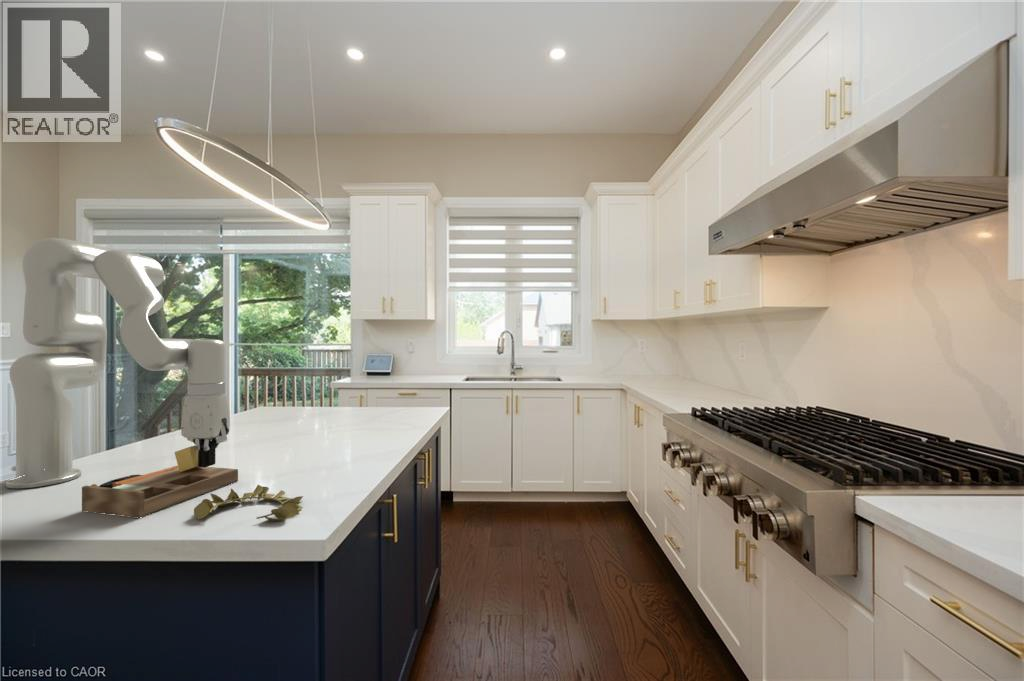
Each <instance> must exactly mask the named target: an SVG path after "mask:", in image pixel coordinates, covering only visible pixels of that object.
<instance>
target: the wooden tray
mask: <svg viewBox="0 0 1024 681" xmlns="http://www.w3.org/2000/svg"><path fill="white" fill-rule="evenodd" d="M237 481H238V482H239V469H238V468H228V467H227V468H225V467H214V466H208V467H195V468H192V469H189V470H185V471H182V472H180V471H179V468H178V469H174V470H171V471H168V472H164V473H161V474H157V475H154V476H151V477H147V478H144V479H140V480H137V481H133V482H130V483H127V484H123V485H120V486H116V487H113V488H106V487H96V486H91V485H84V486H82V487H81V512H82V511H88V512H87V513H90V512H96V513H95V514H99V513H105V514H104V515H107V514H115V515H114V516H116V515H124V516H130V517H129V518H132V517H138V518H137V519H141V518H140V517H142V518H144V516H145V517H147V516H150V515H152V513H153V514H155V513H158V512H161V511H163V510H166V509H169V508H171V507H174V506H176V505H178V504H182V503H184V502H187V501H190V500H193V499H196V498H197V497H201V496H203V495H205V494H209V493H211V492H213V491H216V490H220V489H221V488H224V487H226V486H227V487H228V486H229V484H230V485H232V484H235V483H238V482H237ZM234 482H235V483H234ZM231 483H232V484H231ZM160 510H161V511H160ZM149 514H150V515H149ZM146 515H147V516H146ZM124 516H123V517H124Z"/></svg>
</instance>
